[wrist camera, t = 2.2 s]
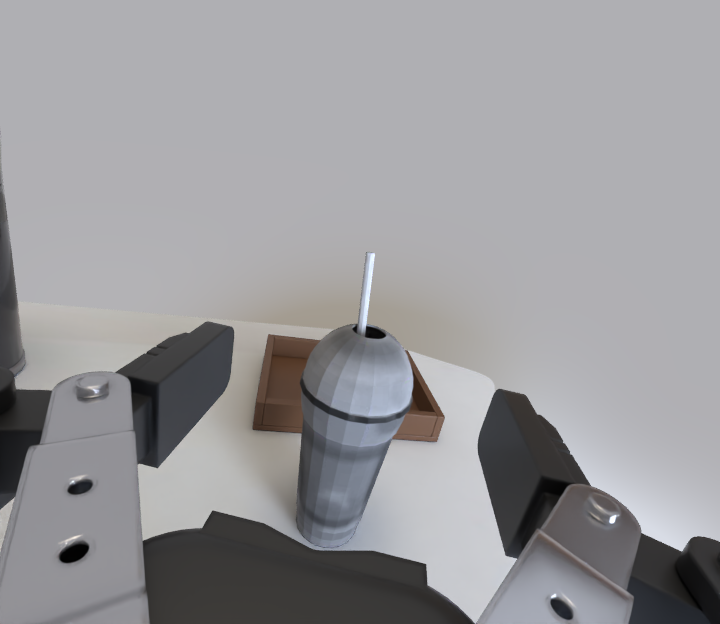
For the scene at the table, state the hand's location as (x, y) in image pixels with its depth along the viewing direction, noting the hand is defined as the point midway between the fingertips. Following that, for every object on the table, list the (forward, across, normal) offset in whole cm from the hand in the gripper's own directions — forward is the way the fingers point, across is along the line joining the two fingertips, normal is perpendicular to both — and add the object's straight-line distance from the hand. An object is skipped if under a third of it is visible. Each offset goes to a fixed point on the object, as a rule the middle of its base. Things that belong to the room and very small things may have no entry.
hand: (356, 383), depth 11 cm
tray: (+28, +2, +18) cm, 34 cm away
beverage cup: (+11, 0, +18) cm, 22 cm away
